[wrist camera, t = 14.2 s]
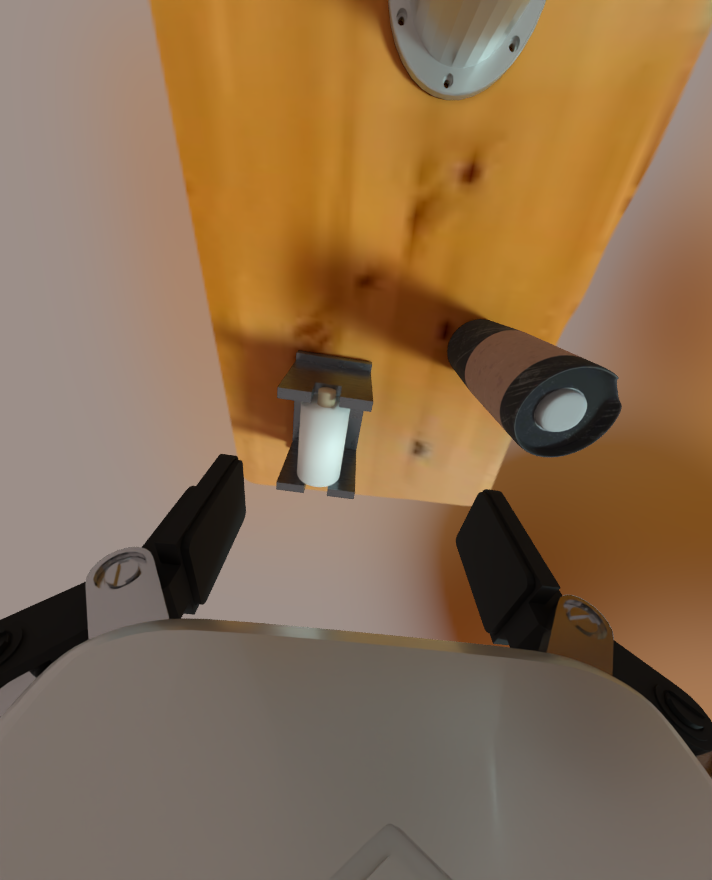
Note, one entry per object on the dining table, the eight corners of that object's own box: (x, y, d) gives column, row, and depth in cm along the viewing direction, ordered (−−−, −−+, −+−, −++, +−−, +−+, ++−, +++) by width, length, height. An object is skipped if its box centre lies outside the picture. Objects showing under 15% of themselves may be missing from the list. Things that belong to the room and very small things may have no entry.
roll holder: (298, 350, 38) (277, 377, 29) (371, 362, 39) (374, 392, 29) (293, 448, 47) (276, 495, 37) (354, 457, 47) (352, 504, 38)
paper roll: (306, 378, 34) (297, 396, 29) (353, 385, 34) (351, 405, 29) (300, 466, 41) (292, 493, 36) (339, 471, 41) (336, 499, 36)
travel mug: (435, 367, 39) (492, 447, 22) (460, 308, 35) (552, 350, 18) (486, 381, 40) (578, 468, 23) (515, 325, 36) (653, 380, 19)
